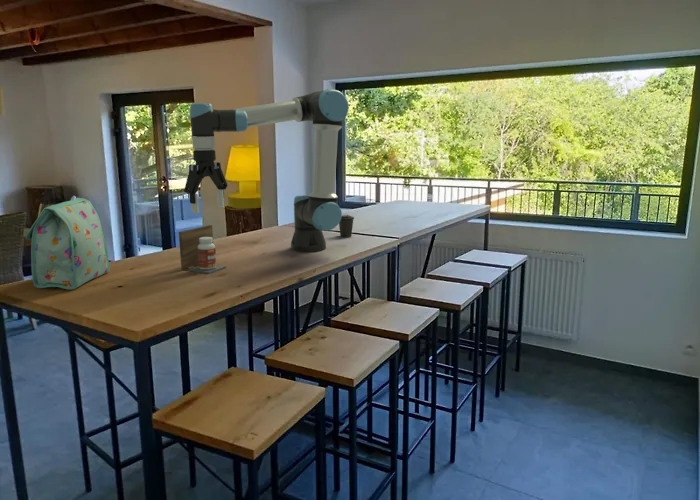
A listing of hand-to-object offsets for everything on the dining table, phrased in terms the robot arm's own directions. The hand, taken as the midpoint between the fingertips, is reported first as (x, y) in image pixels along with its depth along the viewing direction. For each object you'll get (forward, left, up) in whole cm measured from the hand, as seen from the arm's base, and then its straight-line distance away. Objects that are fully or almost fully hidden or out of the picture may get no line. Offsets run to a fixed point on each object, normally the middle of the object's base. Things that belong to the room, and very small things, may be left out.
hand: (208, 210), depth 181 cm
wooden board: (+7, -1, -21) cm, 22 cm away
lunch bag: (+30, +33, -22) cm, 50 cm away
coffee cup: (-18, -76, -22) cm, 81 cm away
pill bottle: (0, +3, -21) cm, 21 cm away
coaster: (0, +2, -21) cm, 22 cm away
